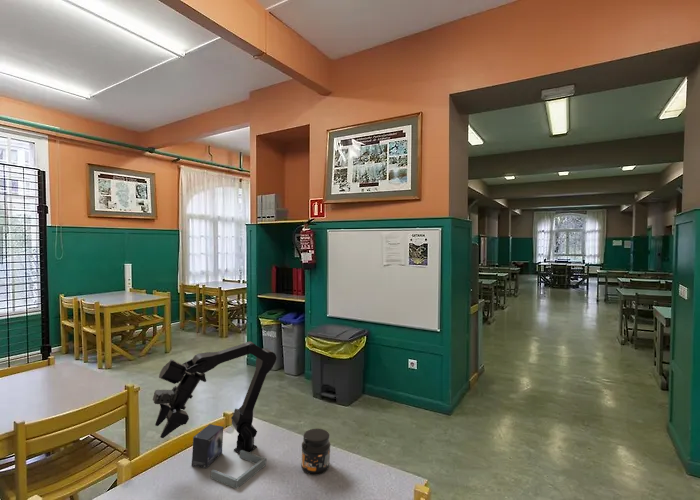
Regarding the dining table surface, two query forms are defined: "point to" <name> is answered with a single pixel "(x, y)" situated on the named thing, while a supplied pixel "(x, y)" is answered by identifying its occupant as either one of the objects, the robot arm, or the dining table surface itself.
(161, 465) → the dining table surface
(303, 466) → the supplement container
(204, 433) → the small box
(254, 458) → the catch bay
